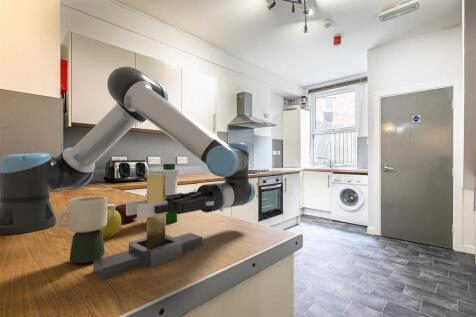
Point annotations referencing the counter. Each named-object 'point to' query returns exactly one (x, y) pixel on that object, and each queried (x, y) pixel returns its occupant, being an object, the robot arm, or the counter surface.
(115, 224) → the lemon
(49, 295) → the counter surface
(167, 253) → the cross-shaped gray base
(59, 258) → the counter surface
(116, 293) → the counter surface
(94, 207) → the character mug
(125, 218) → the potato
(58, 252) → the counter surface
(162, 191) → the link pin
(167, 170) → the milk carton
